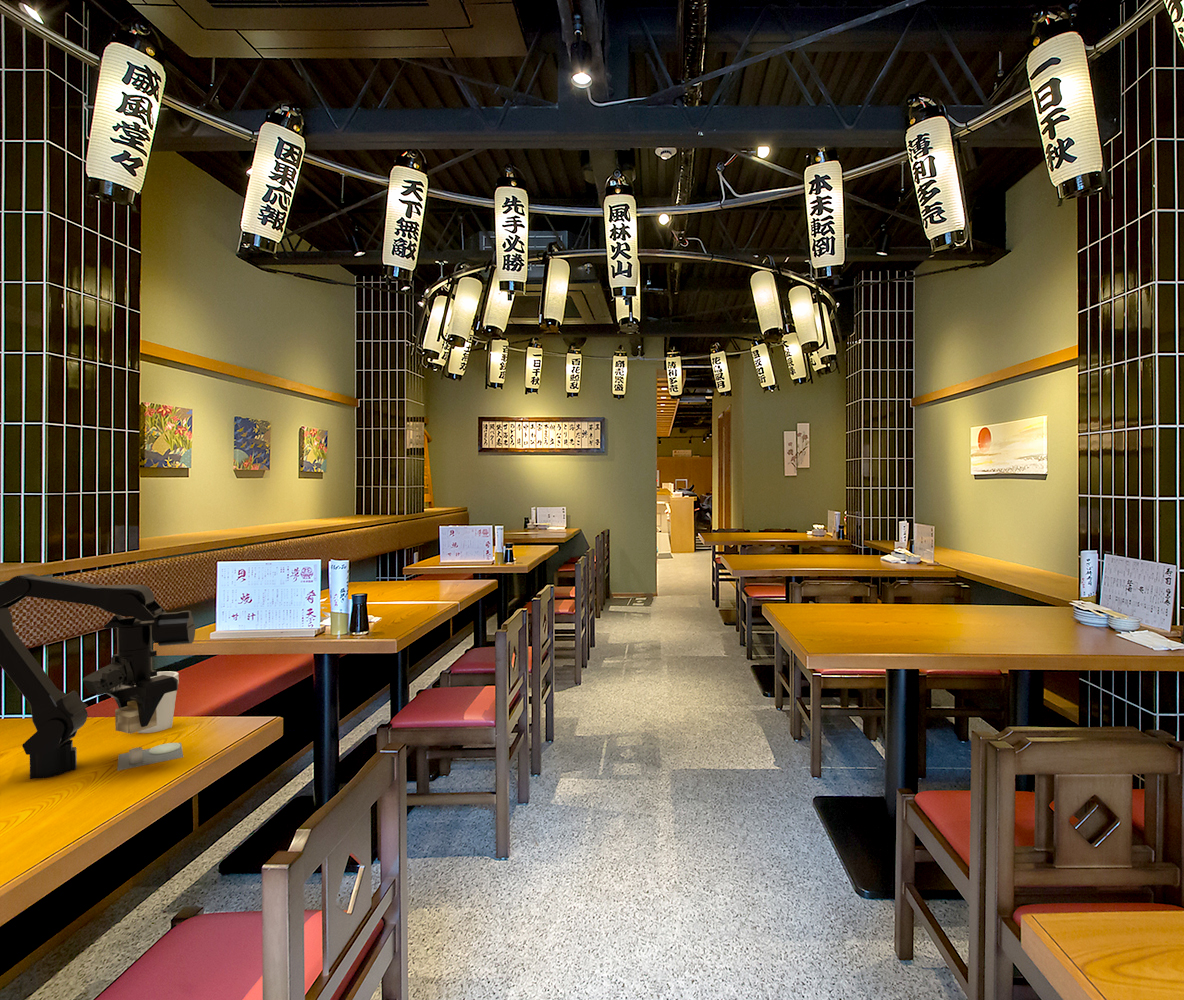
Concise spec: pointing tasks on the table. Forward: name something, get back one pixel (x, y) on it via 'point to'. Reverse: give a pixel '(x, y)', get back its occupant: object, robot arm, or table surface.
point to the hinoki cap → (131, 719)
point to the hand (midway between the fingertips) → (136, 724)
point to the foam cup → (164, 707)
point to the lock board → (149, 755)
